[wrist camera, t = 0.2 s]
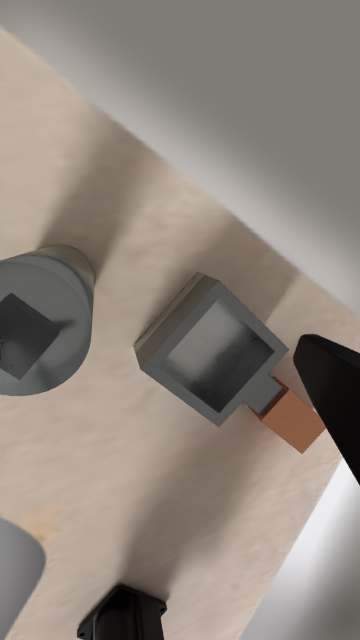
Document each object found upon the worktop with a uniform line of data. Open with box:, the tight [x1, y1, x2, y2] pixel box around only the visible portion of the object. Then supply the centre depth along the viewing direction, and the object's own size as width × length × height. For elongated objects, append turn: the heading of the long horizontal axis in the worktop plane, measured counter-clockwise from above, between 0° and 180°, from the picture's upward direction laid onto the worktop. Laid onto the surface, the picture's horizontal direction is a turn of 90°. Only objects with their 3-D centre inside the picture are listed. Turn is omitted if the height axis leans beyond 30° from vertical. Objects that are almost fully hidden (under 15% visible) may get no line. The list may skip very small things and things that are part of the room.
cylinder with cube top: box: [0, 245, 95, 396], centre depth 16 cm, size 4×4×14 cm
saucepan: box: [133, 272, 326, 454], centre depth 26 cm, size 8×18×4 cm, turn 47°
